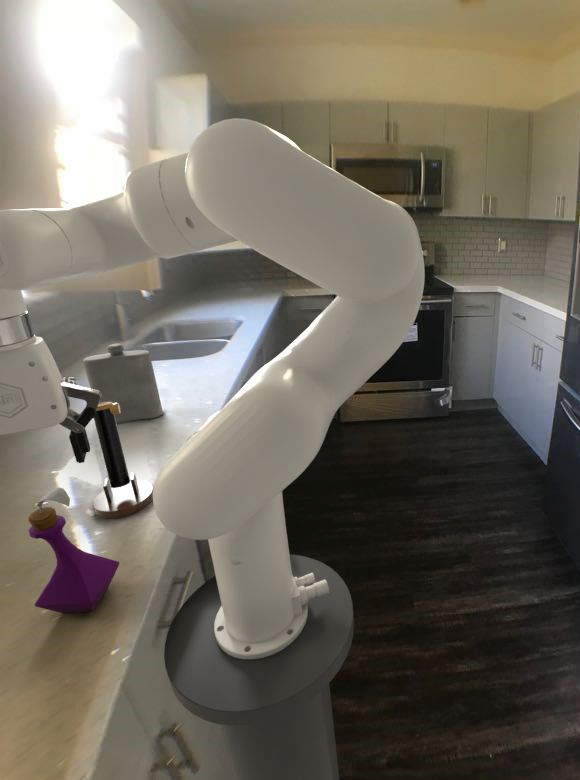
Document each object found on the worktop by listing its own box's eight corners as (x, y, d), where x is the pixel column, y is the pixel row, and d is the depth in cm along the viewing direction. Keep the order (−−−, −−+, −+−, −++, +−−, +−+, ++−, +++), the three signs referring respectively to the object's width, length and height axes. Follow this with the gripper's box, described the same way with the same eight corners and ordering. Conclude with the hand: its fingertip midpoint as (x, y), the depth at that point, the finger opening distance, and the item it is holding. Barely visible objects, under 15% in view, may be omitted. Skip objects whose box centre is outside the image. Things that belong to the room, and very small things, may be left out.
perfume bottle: (41, 624, 61) (-6, 512, 54) (74, 581, 68) (37, 477, 61) (97, 621, 61) (58, 509, 54) (125, 578, 68) (93, 475, 61)
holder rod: (136, 477, 87) (135, 483, 84) (105, 485, 85) (103, 491, 82) (118, 399, 84) (116, 402, 81) (85, 405, 82) (82, 408, 79)
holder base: (154, 508, 84) (148, 485, 82) (92, 524, 80) (84, 501, 78) (154, 481, 92) (149, 459, 91) (97, 495, 89) (90, 472, 87)
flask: (164, 408, 127) (148, 338, 119) (162, 417, 121) (145, 344, 114) (103, 417, 122) (83, 345, 115) (98, 426, 117) (77, 352, 110)
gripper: (-134, 353, 44) (-66, 503, 50) (77, 330, 51) (114, 464, 57) (-98, 335, 50) (-41, 470, 56) (85, 317, 57) (117, 439, 63)
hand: (36, 467), depth 57 cm, fingers open, 9 cm apart
